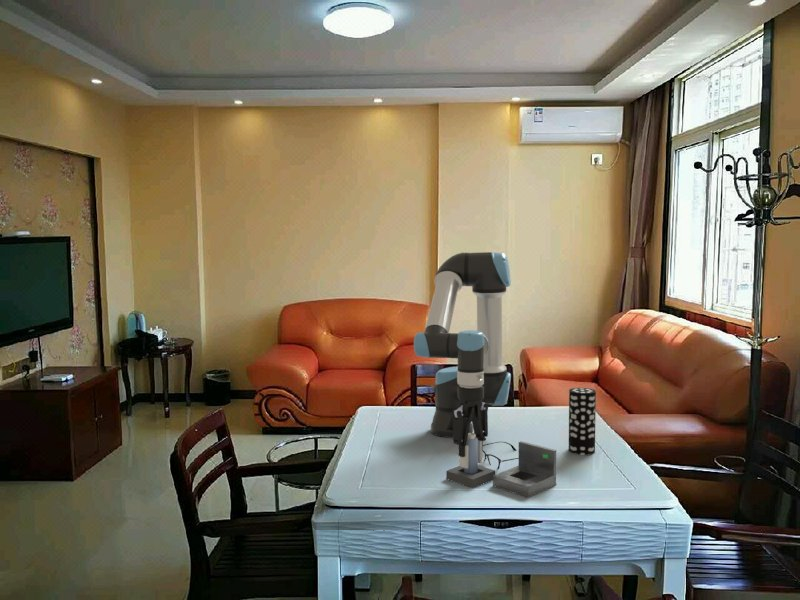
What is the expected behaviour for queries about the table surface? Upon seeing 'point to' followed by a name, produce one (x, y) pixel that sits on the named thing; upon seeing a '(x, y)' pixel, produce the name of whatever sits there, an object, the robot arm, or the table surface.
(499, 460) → the eyeglasses
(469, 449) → the plug
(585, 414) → the white-spotted black cylinder
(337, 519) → the table surface
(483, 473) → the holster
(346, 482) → the table surface
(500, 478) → the port
